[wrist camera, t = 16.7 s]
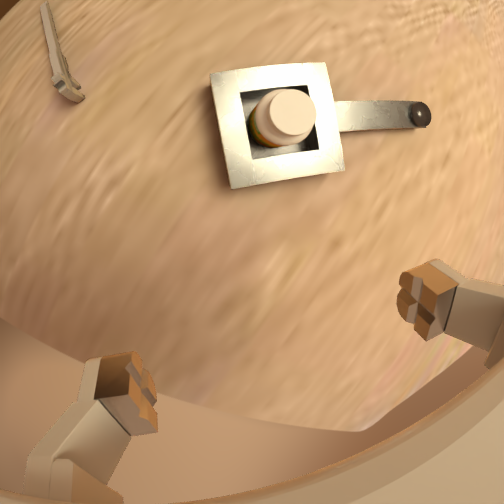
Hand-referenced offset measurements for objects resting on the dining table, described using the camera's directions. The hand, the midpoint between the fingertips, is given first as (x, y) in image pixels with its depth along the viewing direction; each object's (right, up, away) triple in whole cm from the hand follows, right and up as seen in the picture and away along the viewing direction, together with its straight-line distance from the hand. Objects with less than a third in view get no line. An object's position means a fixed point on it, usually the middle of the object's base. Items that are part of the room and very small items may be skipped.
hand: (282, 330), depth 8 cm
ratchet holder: (+9, +18, +24) cm, 31 cm away
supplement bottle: (+1, +16, +23) cm, 28 cm away
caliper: (-25, +29, +16) cm, 42 cm away
